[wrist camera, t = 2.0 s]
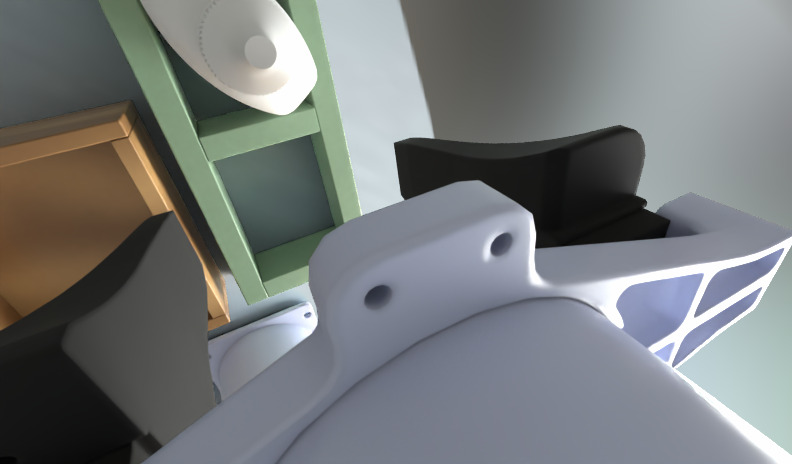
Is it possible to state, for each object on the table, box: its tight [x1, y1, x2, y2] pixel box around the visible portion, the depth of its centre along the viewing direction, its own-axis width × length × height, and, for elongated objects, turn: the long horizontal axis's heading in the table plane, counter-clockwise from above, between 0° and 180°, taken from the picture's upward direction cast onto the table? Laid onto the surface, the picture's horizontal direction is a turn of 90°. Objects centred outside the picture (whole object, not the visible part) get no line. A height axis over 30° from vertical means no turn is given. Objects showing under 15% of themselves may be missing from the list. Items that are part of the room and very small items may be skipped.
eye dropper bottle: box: [140, 0, 317, 115], centre depth 13 cm, size 4×6×12 cm
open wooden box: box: [0, 100, 230, 331], centre depth 18 cm, size 11×10×4 cm
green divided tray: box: [98, 0, 362, 305], centre depth 19 cm, size 18×8×3 cm, turn 9°
